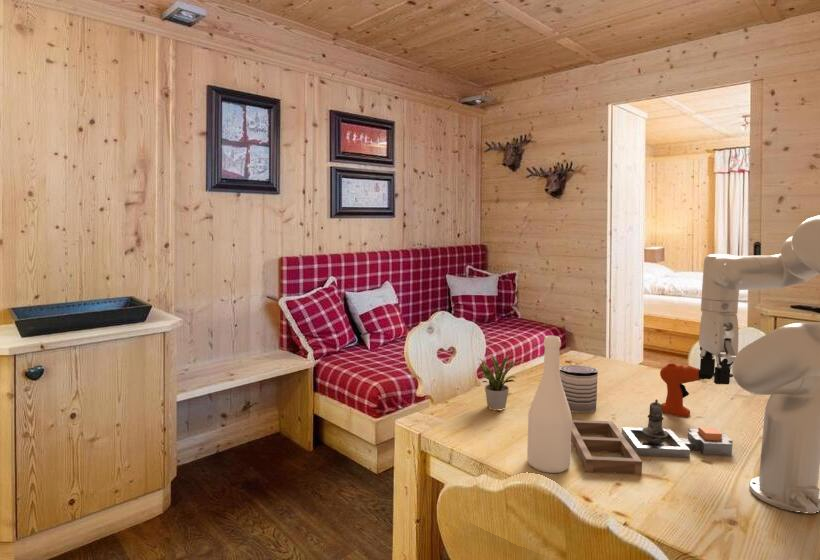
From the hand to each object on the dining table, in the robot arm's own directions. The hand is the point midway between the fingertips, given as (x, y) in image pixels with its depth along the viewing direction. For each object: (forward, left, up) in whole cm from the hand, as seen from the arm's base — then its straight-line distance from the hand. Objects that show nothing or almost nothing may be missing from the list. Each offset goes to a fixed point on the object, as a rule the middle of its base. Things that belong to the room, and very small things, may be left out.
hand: (714, 378), depth 125 cm
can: (+26, +26, -18) cm, 41 cm away
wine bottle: (-12, +41, -18) cm, 46 cm away
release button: (0, 0, -16) cm, 16 cm away
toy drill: (+21, -5, -18) cm, 28 cm away
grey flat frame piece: (0, +7, -18) cm, 19 cm away
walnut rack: (-4, +27, -18) cm, 33 cm away
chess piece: (0, +13, -18) cm, 22 cm away
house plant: (+23, +49, -18) cm, 57 cm away
